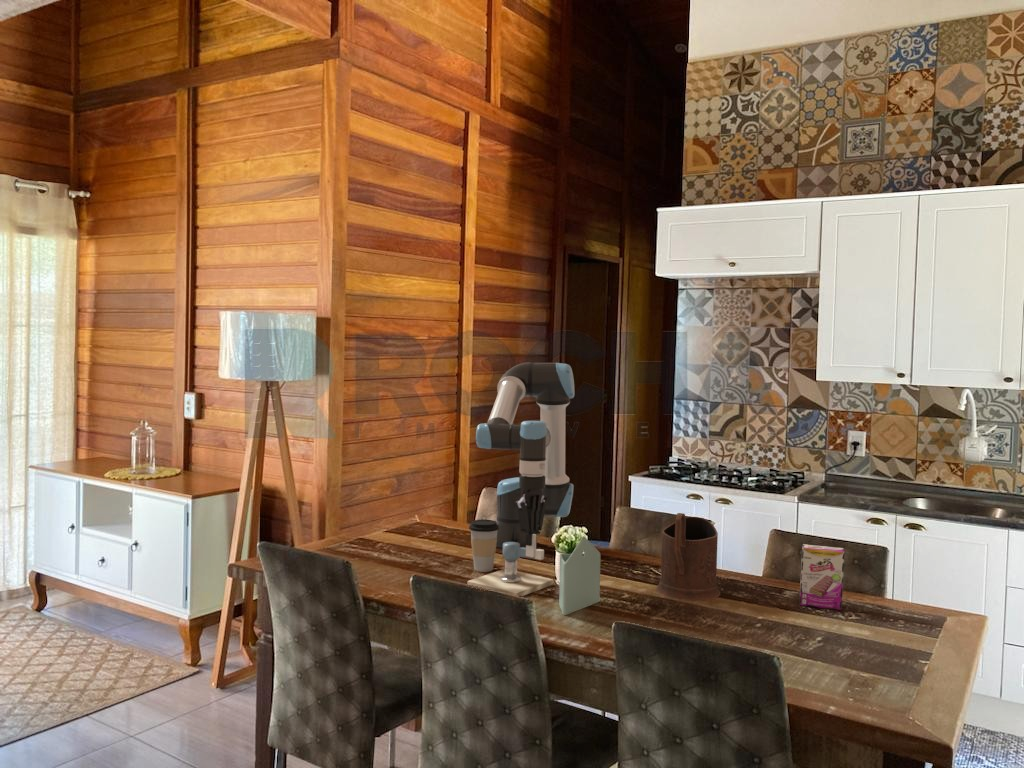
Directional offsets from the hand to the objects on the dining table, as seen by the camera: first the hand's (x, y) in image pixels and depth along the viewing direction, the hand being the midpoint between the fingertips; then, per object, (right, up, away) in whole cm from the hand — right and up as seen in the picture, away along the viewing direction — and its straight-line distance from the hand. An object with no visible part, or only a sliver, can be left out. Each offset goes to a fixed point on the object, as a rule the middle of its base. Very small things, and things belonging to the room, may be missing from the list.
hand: (530, 556), depth 249 cm
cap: (-2, -1, +3) cm, 4 cm away
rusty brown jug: (+45, -11, 0) cm, 46 cm away
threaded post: (-6, -8, +5) cm, 11 cm away
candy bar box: (+80, -12, -9) cm, 82 cm away
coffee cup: (-14, -9, +22) cm, 28 cm away
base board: (-6, -10, +5) cm, 12 cm away
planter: (+11, -11, -13) cm, 20 cm away
